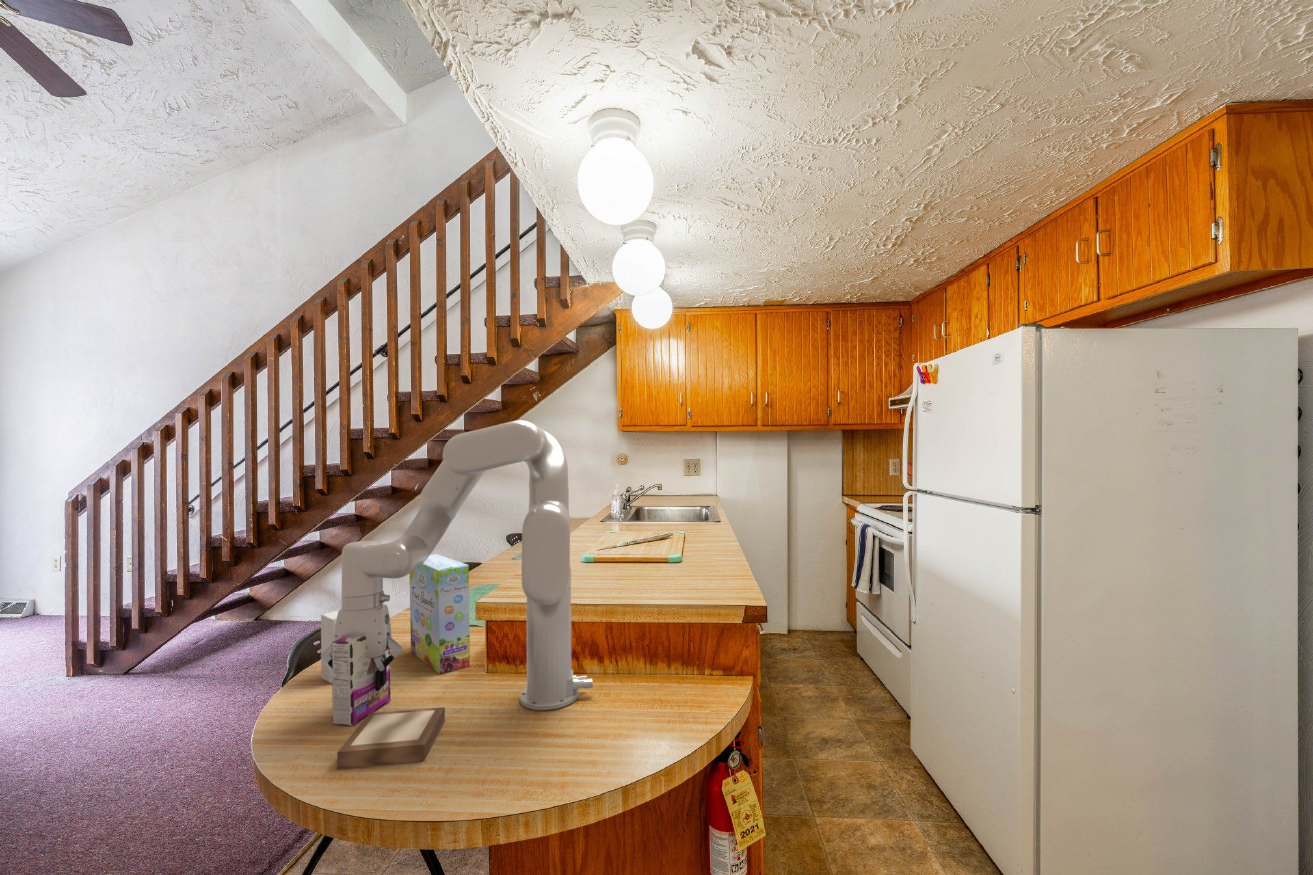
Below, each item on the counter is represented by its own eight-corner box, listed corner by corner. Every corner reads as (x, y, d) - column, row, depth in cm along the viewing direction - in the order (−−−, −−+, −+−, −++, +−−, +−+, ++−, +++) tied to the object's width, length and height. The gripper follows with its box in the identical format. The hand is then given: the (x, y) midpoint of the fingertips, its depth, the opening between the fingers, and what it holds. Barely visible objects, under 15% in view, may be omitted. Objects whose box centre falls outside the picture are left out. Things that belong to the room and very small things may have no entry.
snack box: (406, 653, 144) (407, 557, 145) (439, 645, 150) (439, 553, 151) (437, 676, 128) (437, 568, 129) (472, 666, 134) (471, 563, 135)
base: (444, 721, 106) (444, 705, 106) (424, 760, 92) (424, 743, 92) (369, 727, 104) (369, 711, 104) (337, 768, 90) (337, 750, 90)
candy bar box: (371, 699, 116) (371, 623, 117) (391, 701, 115) (391, 624, 116) (329, 725, 105) (330, 640, 106) (351, 727, 104) (352, 641, 105)
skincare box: (355, 667, 134) (356, 605, 135) (368, 673, 130) (368, 609, 131) (319, 679, 128) (319, 613, 128) (331, 685, 124) (332, 617, 124)
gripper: (412, 594, 116) (412, 678, 115) (326, 599, 113) (325, 685, 113) (400, 604, 108) (400, 694, 108) (308, 609, 106) (307, 701, 105)
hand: (362, 688), depth 110 cm, fingers closed on candy bar box, 6 cm apart
